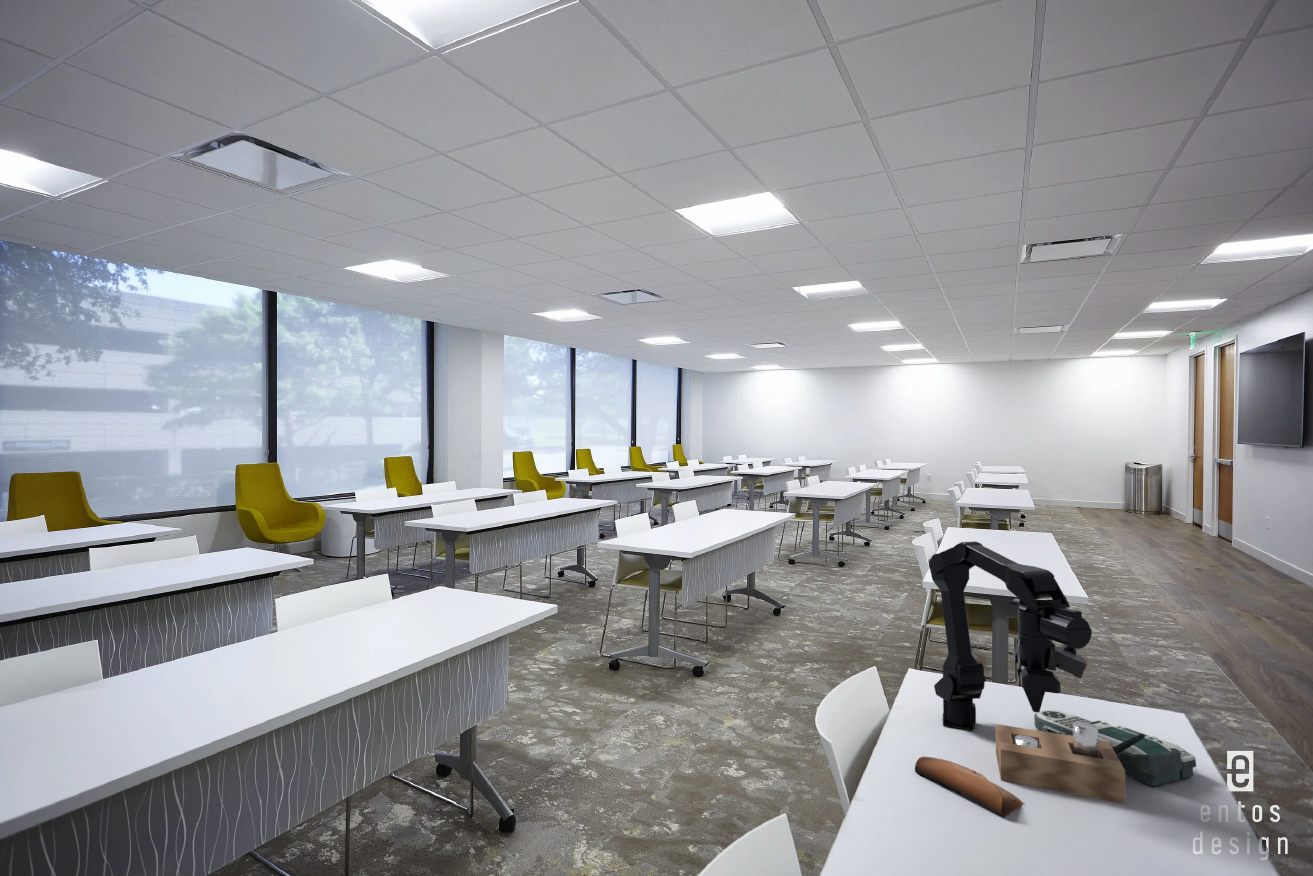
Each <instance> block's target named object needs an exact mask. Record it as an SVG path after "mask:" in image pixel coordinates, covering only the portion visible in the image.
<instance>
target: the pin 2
mask: <svg viewBox="0 0 1313 876" xmlns="http://www.w3.org/2000/svg"><path fill="white" fill-rule="evenodd" d="M1073 754H1078V755H1084V756H1090V757H1096V758H1098V728H1097V727H1096V726H1095V725H1093V724H1090V723H1086V722H1074V723H1073Z"/></svg>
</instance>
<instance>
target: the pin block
mask: <svg viewBox="0 0 1313 876" xmlns="http://www.w3.org/2000/svg"><path fill="white" fill-rule="evenodd" d="M1018 735H1023V736H1029V737H1032V738H1034V739H1036V740H1037V741H1038V748H1035V747H1029V746H1023V745H1017V744H1015V736H1018ZM995 755H996V760H997V766H998V771H999V778H1000V781H1003V782H1008V783H1015V784H1020V785H1023V786H1024V785H1025V786H1031V787H1036V788H1042V789H1047V790H1052V791H1057V792H1062V793H1067V794H1073V795H1079V796H1083V797H1084V796H1085V797H1087V798H1088V797H1089V798H1094V799H1101V800H1106V801H1109V802H1110V801H1111V802H1116V803H1121V804H1126V775H1125V770H1124V768H1123V766H1122V764H1121V762H1120V761H1119V759H1118V757H1117V755H1116V753H1115V752H1114V750H1113V748H1112V746H1111V744H1110V743H1109V742H1108V741H1102V740H1098V758H1096V757H1090V756H1084V755H1078V754H1073V736H1069V735H1063V734H1057V733H1050V732H1044V731H1039V730H1038V729H1037V730H1035V729H1029V728H1023V727H1015V726H1010V725H1003V724H997V723H995Z"/></svg>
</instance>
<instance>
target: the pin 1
mask: <svg viewBox="0 0 1313 876" xmlns="http://www.w3.org/2000/svg"><path fill="white" fill-rule="evenodd" d="M1015 744H1017V745H1023V746H1029V747H1035V748H1038V741H1037V740H1036V739H1034V738H1032V737H1029V736H1023V735H1018V736H1015Z"/></svg>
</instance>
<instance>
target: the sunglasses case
mask: <svg viewBox="0 0 1313 876" xmlns="http://www.w3.org/2000/svg"><path fill="white" fill-rule="evenodd" d="M914 765H915V766H914V772H915V773H916V774H919V775H921V776H923V777H925V778H929V779H930V780H932V781H936V782H937V783H940V784H943V785H946V787H948V788H950V789H952V790H954V791H956V792H958V793H960V794H962V795H964V796H966V797H968V798H969V799H971V800H973V801H975V802H976V803H977V802H978V803H979V804H981V805H983V806H984V807H986V808H988V809H990V810H992V811H994V812H996V813H997V814H999V815H1001V816H1002V817H1003V818H1005V817H1006V816H1008V815H1009V814H1011V813H1013V812H1014V811H1016V810H1017V809H1019V808H1021V807H1022V806H1023V805H1025V802H1023V801H1022V800H1021V799H1020V798H1019V797H1017V796H1016V795H1014V794H1013V793H1011V792H1010V791H1008V790H1006V789H1005V788H1003V787H1001V786H999V785H998V784H996V783H994V782H992V781H990V780H989V779H988V778H987V777H986V776H985V775H983V774H982V773H979V772H977V771H976V770H974V769H971V768H969V767H967V766H964V765H961V764H959V763H957V762H953V761H951V760H947V759H943V758H939V757H932V756H921V757H918V759H917V760H916V762H915V764H914Z"/></svg>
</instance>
